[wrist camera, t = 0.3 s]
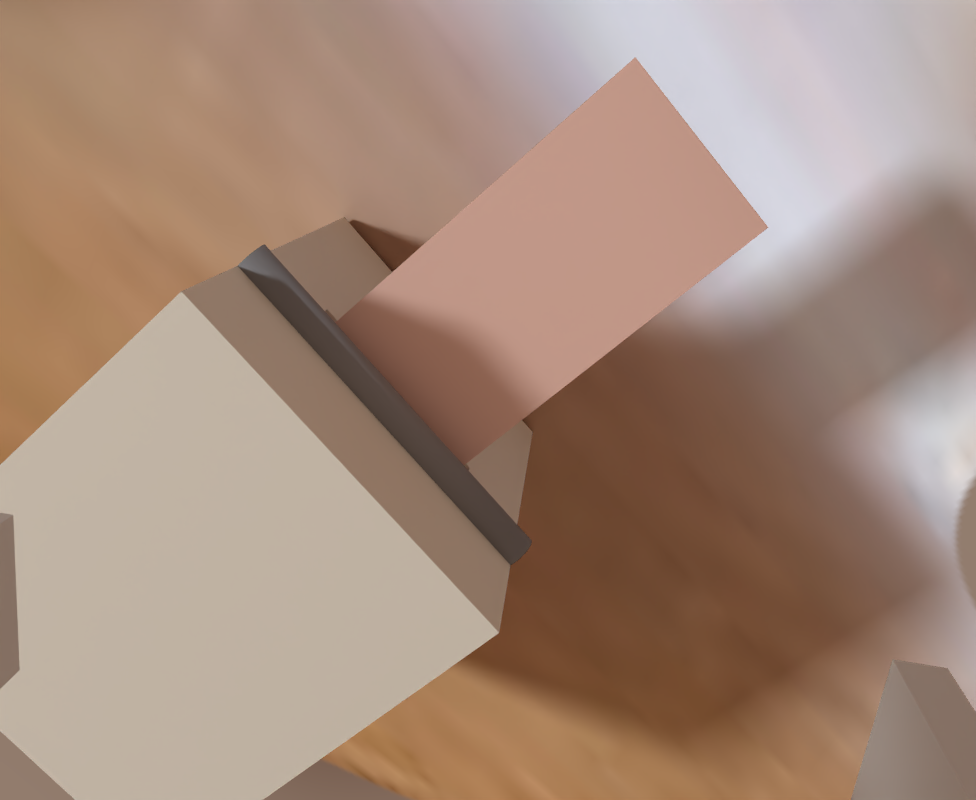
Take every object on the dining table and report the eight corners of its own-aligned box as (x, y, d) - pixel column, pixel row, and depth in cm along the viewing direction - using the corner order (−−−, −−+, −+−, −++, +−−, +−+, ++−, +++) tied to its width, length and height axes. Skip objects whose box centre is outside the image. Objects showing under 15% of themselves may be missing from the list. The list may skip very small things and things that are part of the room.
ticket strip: (93, 536, 33) (78, 549, 32) (633, 59, 26) (635, 57, 25) (212, 654, 34) (201, 670, 33) (761, 223, 27) (768, 227, 26)
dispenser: (124, 420, 42) (-142, 600, 26) (358, 204, 38) (202, 270, 22) (306, 607, 44) (156, 874, 28) (546, 421, 40) (522, 616, 24)
